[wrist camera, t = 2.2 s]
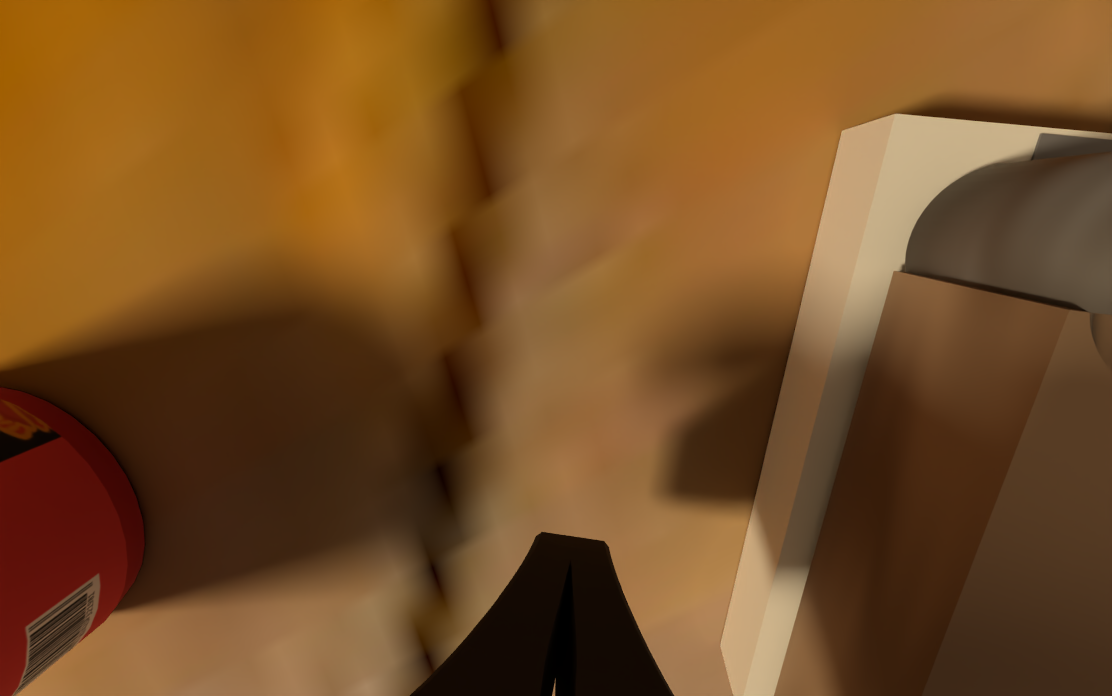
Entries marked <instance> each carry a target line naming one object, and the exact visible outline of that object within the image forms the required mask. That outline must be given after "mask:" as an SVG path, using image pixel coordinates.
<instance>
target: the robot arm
mask: <svg viewBox="0 0 1112 696" xmlns="http://www.w3.org/2000/svg"><path fill="white" fill-rule="evenodd" d="M555 678H556V686H555V696H674V695H673V693H672V691H671V690H670V688H669V686H668V684H667V682H666V681H665V679H664V677H663V675H662V673H661V672H660V670H659V668H658V666H657V664H656V662H655V660H654V658H653V656H652V654H651V652H650V651H649V649H648V647H647V644H646V642H645V640H644V638H643V636H642V634H641V632H640V630H639V628H638V625H637V623H636V621H635V619H634V617H633V614H632V612H631V610H630V608H629V605H628V603H627V601H626V598H625V596H624V593H623V591H622V588H621V585H620V583H619V580H618V577H617V574H616V571H615V569H614V565H613V562H612V559H611V555H610V551H609V547H608V546H607V544H606V543H605V542H604V541H600V540H593V539H586V538H580V537H573V536H566V535H559V534H553V533H546V532H541V533H540V534H538V535H537V536H536V537H535V540H534V542H533V544H532V546H531V548H530V550H529V552H528V554H527V556H526V557H525V559H524V561H523V562H522V564H521V566H520V567H519V569H518V570H517V572H516V573H515V575H514V576H513V578H512V579H511V581H510V582H509V584H508V585H507V586H506V588H505V589H504V591H503V592H502V593H501V595H500V596H499V598H498V599H497V600H496V602H495V603H494V604H493V606H492V607H491V608H490V609H489V611H488V612H487V613H486V614H485V616H484V617H483V618H482V619H481V620H480V622H479V623H478V624H477V625H476V627H475V628H474V629H473V630H472V631H471V633H470V634H469V635H468V636H467V637H466V639H465V640H464V641H463V642H462V643H461V644H460V645H459V646H458V647H457V649H456V650H455V651H454V652H453V653H452V654H451V655H450V656H449V657H448V658H447V659H446V660H445V662H444V663H443V664H442V665H441V666H440V667H439V668H438V669H437V670H436V671H435V672H434V673H433V674H432V675H431V676H430V677H429V678H428V679H427V680H426V681H425V682H424V683H423V684H422V685H421V686H419V687H418V688H417V689H416V690H415V691H414V692H413V693H412V694H411V695H410V696H552V693H553V688H554V683H555Z"/></svg>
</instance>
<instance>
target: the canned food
mask: <svg viewBox="0 0 1112 696" xmlns="http://www.w3.org/2000/svg"><path fill="white" fill-rule="evenodd" d="M144 547H145V540H144V526H143V520H142V516H141V512H140V509H139V505H138V501H137V498H136V496H135V493H134V491H133V489H132V487H131V485H130V483H129V480H128V478H127V476H126V475H125V473H124V472H123V470H122V469H121V467H120V466H119V464H118V463H117V461H116V460H115V458H114V457H113V455H112V454H111V453H110V452H109V450H108V449H107V448H106V447H105V446H104V445H103V444H102V443H101V442H100V441H99V439H98V438H97V437H96V436H95V435H94V434H93V433H92V432H90V431H89V430H88V429H87V428H85V427H84V426H83V425H82V424H81V423H79V422H78V421H77V420H76V419H75V418H73V417H72V416H71V415H69V414H67V413H66V412H64V411H62V410H61V409H59V408H57V407H56V406H54V405H52V404H51V403H49V402H47V401H45V400H42V399H40V398H37V397H35V396H32V395H30V394H27V393H25V392H22V391H17V390H12V389H7V388H2V387H0V696H16V695H17V694H18V693H19V692H20V691H22V690H23V689H24V688H25V687H26V686H28V685H29V684H30V683H31V682H32V681H34V680H35V679H36V678H37V677H38V676H40V675H41V674H42V673H43V672H44V671H46V670H47V669H48V668H49V667H50V666H52V665H53V664H54V663H55V662H56V661H58V660H59V659H60V658H61V657H62V656H64V655H65V654H66V653H67V652H68V651H70V650H71V649H72V648H73V647H74V646H76V645H77V644H78V643H79V642H80V641H82V640H83V639H84V638H85V637H86V636H88V635H89V634H90V633H91V632H92V631H94V630H95V629H96V628H97V627H98V626H100V625H101V624H102V623H103V622H104V621H105V620H106V619H107V618H108V617H109V615H110V614H111V613H112V611H113V610H114V609H115V608H116V606H117V605H118V604H119V602H120V601H121V600H122V598H123V597H124V595H125V594H126V593H127V591H128V590H129V589H130V587H131V586H132V584H133V583H134V582H135V579H136V577H137V575H138V572H139V570H140V568H141V565H142V560H143V553H144Z"/></svg>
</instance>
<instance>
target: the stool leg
mask: <svg viewBox="0 0 1112 696" xmlns="http://www.w3.org/2000/svg"><path fill="white" fill-rule="evenodd" d="M774 696H1112V151H1111V152H1102V153H1093V154H1084V155H1075V156H1065V157H1056V158H1047V159H1038V160H1029V161H1020V162H1010V163H1001V164H996V165H991V166H987V167H984V168H981V169H978V170H975V171H973V172H971V173H969V174H967V175H965V176H963V177H961V178H959V179H958V180H956V181H954V182H953V183H951V184H950V185H949V186H947V187H946V188H945V189H944V190H942V191H941V192H940V193H939V194H938V195H937V196H936V197H935V198H934V199H933V200H932V201H931V202H930V203H929V205H928V206H927V207H926V208H925V209H924V211H923V212H922V214H921V215H920V217H919V218H918V220H917V222H916V224H915V226H914V228H913V230H912V232H911V235H910V238H909V241H908V245H907V249H906V256H905V272H901V271H893V275H892V278H891V282H890V286H889V289H888V293H887V296H886V300H885V303H884V307H883V310H882V314H881V317H880V321H879V325H878V328H877V332H876V335H875V339H874V342H873V346H872V349H871V353H870V356H869V360H868V364H867V367H866V371H865V374H864V378H863V381H862V385H861V388H860V392H859V395H858V399H857V403H856V406H855V410H854V413H853V417H852V420H851V424H850V427H849V431H848V434H847V438H846V442H845V445H844V449H843V452H842V456H841V459H840V463H839V466H838V470H837V473H836V477H835V481H834V484H833V488H832V491H831V495H830V498H829V502H828V505H827V509H826V512H825V516H824V520H823V523H822V527H821V530H820V534H819V537H818V541H817V544H816V548H815V552H814V555H813V559H812V562H811V566H810V569H809V573H808V576H807V580H806V583H805V587H804V591H803V594H802V598H801V601H800V605H799V608H798V612H797V615H796V619H795V622H794V626H793V630H792V633H791V637H790V640H789V644H788V647H787V651H786V654H785V658H784V661H783V665H782V669H781V672H780V676H779V679H778V683H777V686H776V690H775V693H774Z"/></svg>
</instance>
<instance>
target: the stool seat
mask: <svg viewBox="0 0 1112 696" xmlns="http://www.w3.org/2000/svg"><path fill="white" fill-rule="evenodd" d="M1111 151H1112V134H1111V133H1101V132H1090V131H1079V130H1068V129H1057V128H1046V127H1035V126H1024V125H1014V124H1003V123H992V122H981V121H970V120H959V119H948V118H937V117H927V116H916V115H905V114H893V115H889V116H886V117H883V118H880V119H877V120H874V121H871V122H868V123H865V124H862V125H858V126H855V127H852V128H849V129H846V130H843V131H842V133H841V137H840V141H839V146H838V150H837V154H836V158H835V163H834V167H833V171H832V175H831V179H830V184H829V188H828V192H827V196H826V201H825V205H824V209H823V213H822V217H821V222H820V226H819V230H818V234H817V239H816V243H815V247H814V251H813V255H812V260H811V264H810V268H809V272H808V277H807V281H806V285H805V289H804V293H803V298H802V302H801V306H800V310H799V315H798V319H797V323H796V327H795V331H794V336H793V340H792V344H791V348H790V353H789V357H788V361H787V365H786V369H785V374H784V378H783V382H782V386H781V390H780V395H779V399H778V403H777V407H776V412H775V416H774V420H773V424H772V428H771V433H770V437H769V441H768V445H767V450H766V454H765V458H764V462H763V466H762V471H761V475H760V479H759V483H758V488H757V492H756V496H755V500H754V504H753V509H752V513H751V517H750V521H749V526H748V530H747V534H746V538H745V542H744V547H743V551H742V555H741V559H740V564H739V568H738V572H737V576H736V580H735V585H734V589H733V593H732V597H731V602H730V606H729V610H728V614H727V618H726V623H725V627H724V631H723V635H722V640H721V644H720V646H721V650H722V654H723V658H724V662H725V666H726V669H727V673H728V677H729V681H730V685H731V689H732V693H733V696H774V693H775V690H776V686H777V683H778V679H779V676H780V672H781V669H782V665H783V661H784V658H785V654H786V651H787V647H788V644H789V640H790V637H791V633H792V630H793V626H794V622H795V619H796V615H797V612H798V608H799V605H800V601H801V598H802V594H803V591H804V587H805V583H806V580H807V576H808V573H809V569H810V566H811V562H812V559H813V555H814V552H815V548H816V544H817V541H818V537H819V534H820V530H821V527H822V523H823V520H824V516H825V512H826V509H827V505H828V502H829V498H830V495H831V491H832V488H833V484H834V481H835V477H836V473H837V470H838V466H839V463H840V459H841V456H842V452H843V449H844V445H845V442H846V438H847V434H848V431H849V427H850V424H851V420H852V417H853V413H854V410H855V406H856V403H857V399H858V395H859V392H860V388H861V385H862V381H863V378H864V374H865V371H866V367H867V364H868V360H869V356H870V353H871V349H872V346H873V342H874V339H875V335H876V332H877V328H878V325H879V321H880V317H881V314H882V310H883V307H884V303H885V300H886V296H887V293H888V289H889V286H890V282H891V278H892V275H893V271H901V272H905V256H906V249H907V245H908V241H909V238H910V235H911V232H912V230H913V228H914V226H915V224H916V222H917V220H918V218H919V217H920V215H921V214H922V212H923V211H924V209H925V208H926V207H927V206H928V205H929V203H930V202H931V201H932V200H933V199H934V198H935V197H936V196H937V195H938V194H939V193H940V192H941V191H942V190H944V189H945V188H946V187H947V186H949V185H950V184H951V183H953V182H954V181H956V180H958V179H959V178H961V177H963V176H965V175H967V174H969V173H971V172H973V171H975V170H978V169H981V168H984V167H987V166H991V165H996V164H1001V163H1010V162H1020V161H1029V160H1038V159H1047V158H1056V157H1065V156H1075V155H1084V154H1093V153H1102V152H1111Z"/></svg>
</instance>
